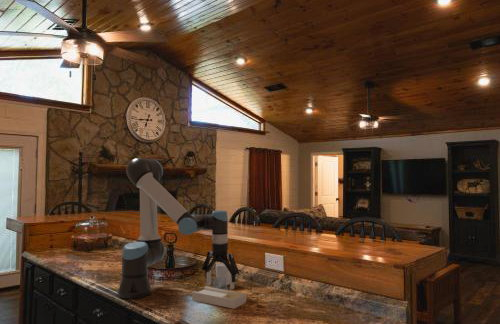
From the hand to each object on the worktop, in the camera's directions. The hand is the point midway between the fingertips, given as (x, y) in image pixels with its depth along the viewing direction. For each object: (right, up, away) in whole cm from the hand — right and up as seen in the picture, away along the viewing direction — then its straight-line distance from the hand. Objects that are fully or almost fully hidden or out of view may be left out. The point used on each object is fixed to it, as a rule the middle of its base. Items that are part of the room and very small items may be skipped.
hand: (220, 287), depth 181 cm
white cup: (0, -3, +13) cm, 14 cm away
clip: (0, 0, 0) cm, 0 cm away
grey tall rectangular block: (0, -2, 0) cm, 2 cm away
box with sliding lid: (0, -2, -13) cm, 13 cm away
